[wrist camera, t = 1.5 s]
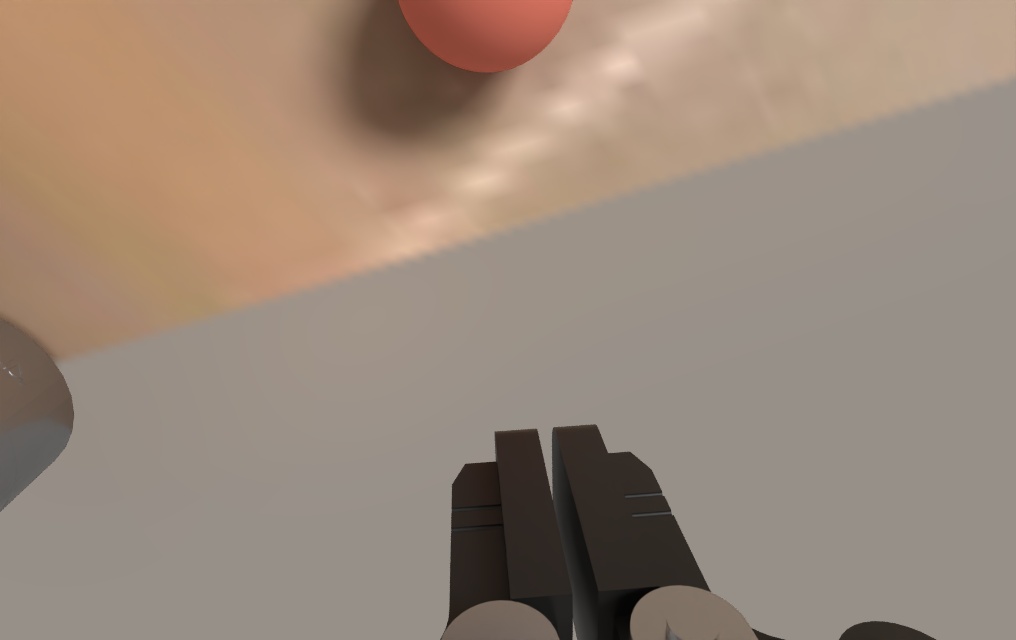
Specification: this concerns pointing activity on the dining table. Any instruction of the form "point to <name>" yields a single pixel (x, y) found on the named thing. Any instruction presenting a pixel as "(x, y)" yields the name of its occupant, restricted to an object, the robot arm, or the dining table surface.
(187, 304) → the dining table surface
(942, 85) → the dining table surface
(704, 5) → the dining table surface
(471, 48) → the ball
